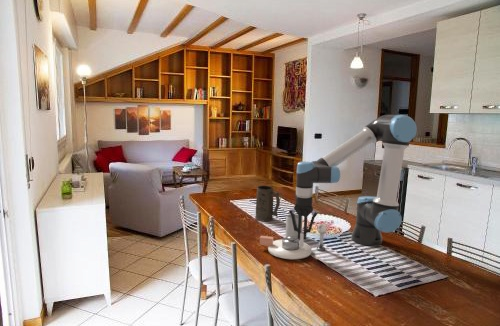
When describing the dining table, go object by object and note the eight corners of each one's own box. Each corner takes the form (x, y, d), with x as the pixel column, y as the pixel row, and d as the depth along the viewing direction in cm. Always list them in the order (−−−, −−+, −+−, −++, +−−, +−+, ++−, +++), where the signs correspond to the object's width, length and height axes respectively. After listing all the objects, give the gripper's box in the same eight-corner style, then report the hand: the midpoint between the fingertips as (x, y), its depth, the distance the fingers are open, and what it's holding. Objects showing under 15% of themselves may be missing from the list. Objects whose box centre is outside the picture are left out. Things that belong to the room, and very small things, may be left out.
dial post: (325, 248, 168) (327, 223, 166) (325, 251, 164) (327, 225, 162) (316, 247, 169) (318, 222, 167) (315, 250, 165) (317, 224, 163)
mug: (304, 238, 181) (305, 218, 179) (289, 240, 178) (290, 219, 176) (293, 230, 192) (294, 211, 190) (279, 232, 189) (280, 212, 187)
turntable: (312, 245, 169) (313, 235, 169) (309, 261, 150) (309, 250, 149) (264, 239, 175) (265, 229, 175) (255, 254, 156) (255, 244, 155)
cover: (300, 245, 165) (300, 235, 164) (298, 251, 157) (298, 240, 156) (283, 243, 167) (283, 233, 166) (280, 249, 159) (281, 238, 158)
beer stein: (251, 219, 210) (254, 187, 206) (257, 214, 219) (260, 184, 216) (275, 225, 204) (279, 192, 201) (281, 219, 214) (284, 188, 211)
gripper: (319, 195, 159) (316, 244, 162) (290, 193, 162) (288, 241, 166) (318, 199, 152) (315, 250, 155) (288, 196, 155) (286, 247, 159)
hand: (301, 245), depth 161 cm, fingers closed
